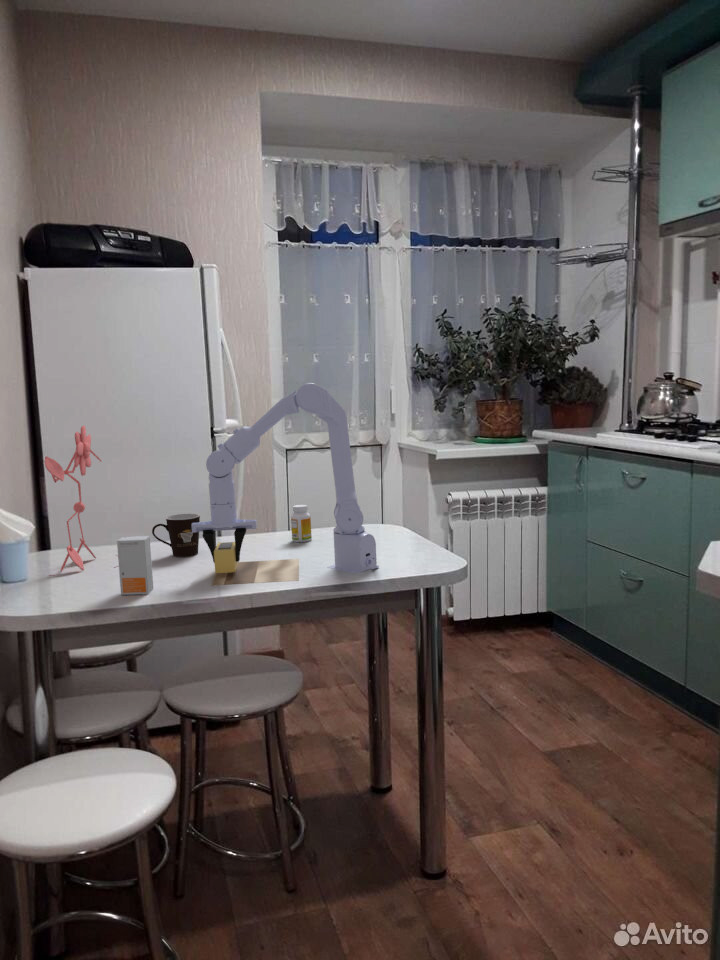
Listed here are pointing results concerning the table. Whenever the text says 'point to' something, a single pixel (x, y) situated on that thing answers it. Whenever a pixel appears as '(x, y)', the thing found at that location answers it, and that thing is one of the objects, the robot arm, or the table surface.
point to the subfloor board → (260, 572)
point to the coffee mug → (181, 534)
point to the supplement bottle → (301, 524)
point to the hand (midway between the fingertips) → (226, 561)
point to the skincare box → (135, 565)
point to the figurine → (83, 461)
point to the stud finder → (225, 557)
